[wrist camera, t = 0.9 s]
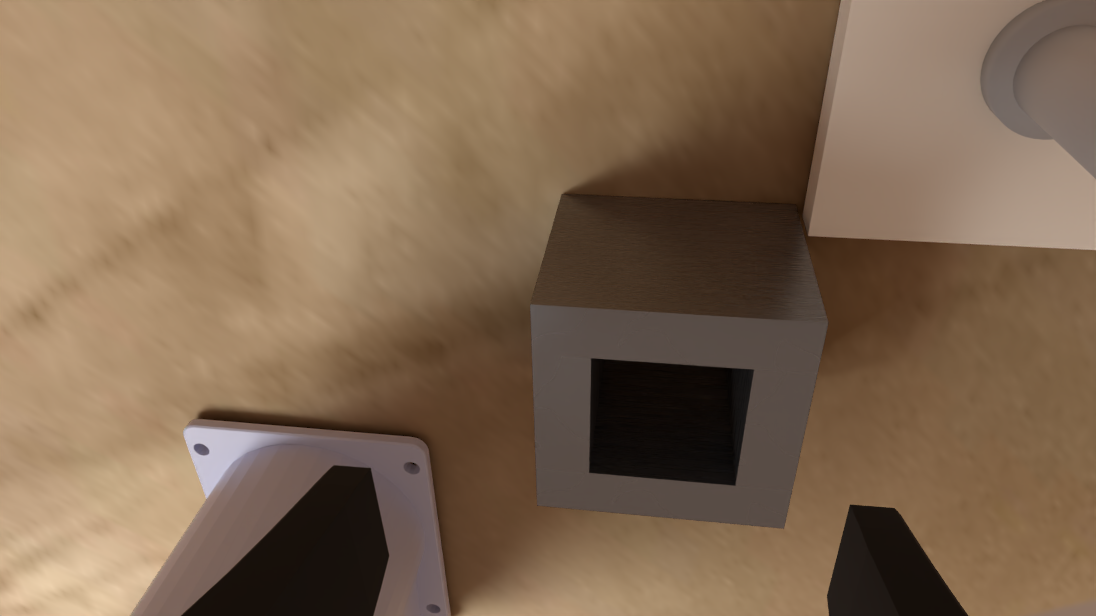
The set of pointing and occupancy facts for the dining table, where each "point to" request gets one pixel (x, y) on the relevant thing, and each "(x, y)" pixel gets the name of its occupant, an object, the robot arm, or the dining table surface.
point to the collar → (674, 358)
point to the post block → (959, 124)
